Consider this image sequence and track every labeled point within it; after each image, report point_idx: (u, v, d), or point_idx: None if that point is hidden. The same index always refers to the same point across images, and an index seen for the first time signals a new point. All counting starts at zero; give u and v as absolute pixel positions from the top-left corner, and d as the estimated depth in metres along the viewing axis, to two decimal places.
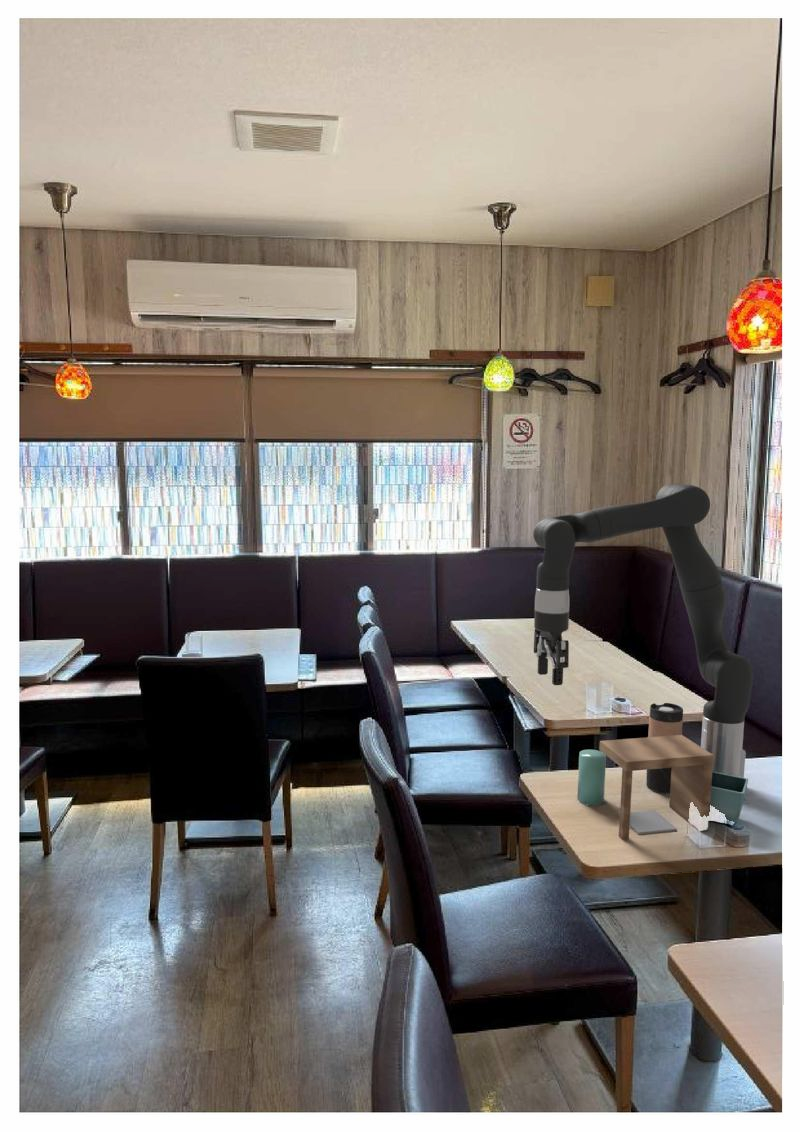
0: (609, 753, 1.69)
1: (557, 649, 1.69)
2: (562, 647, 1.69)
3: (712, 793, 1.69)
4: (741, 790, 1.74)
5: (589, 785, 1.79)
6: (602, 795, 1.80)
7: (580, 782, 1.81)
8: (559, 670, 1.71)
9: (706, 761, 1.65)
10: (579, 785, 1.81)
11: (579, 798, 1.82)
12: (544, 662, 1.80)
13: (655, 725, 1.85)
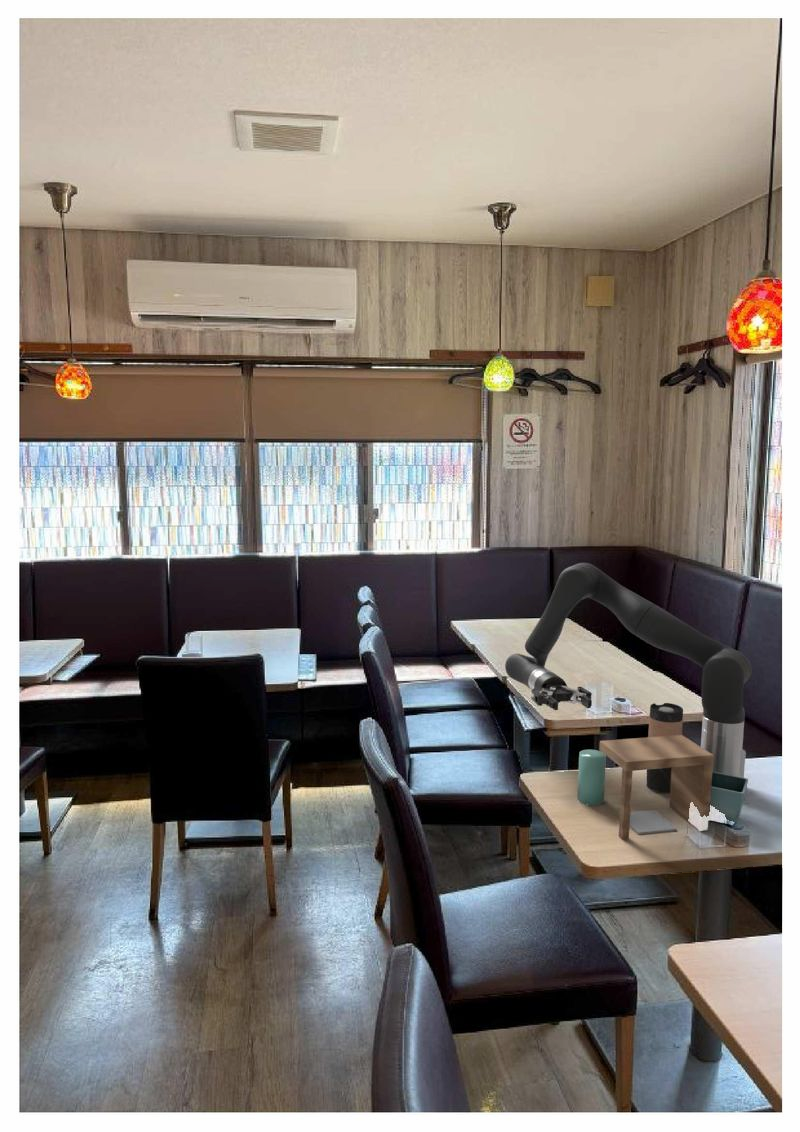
0: (609, 753, 1.69)
1: None
2: (532, 696, 1.98)
3: (712, 793, 1.69)
4: (741, 790, 1.74)
5: (589, 785, 1.79)
6: (602, 795, 1.80)
7: (580, 782, 1.81)
8: (547, 702, 1.93)
9: (706, 761, 1.65)
10: (579, 785, 1.81)
11: (579, 798, 1.82)
12: (583, 699, 1.94)
13: (655, 725, 1.85)
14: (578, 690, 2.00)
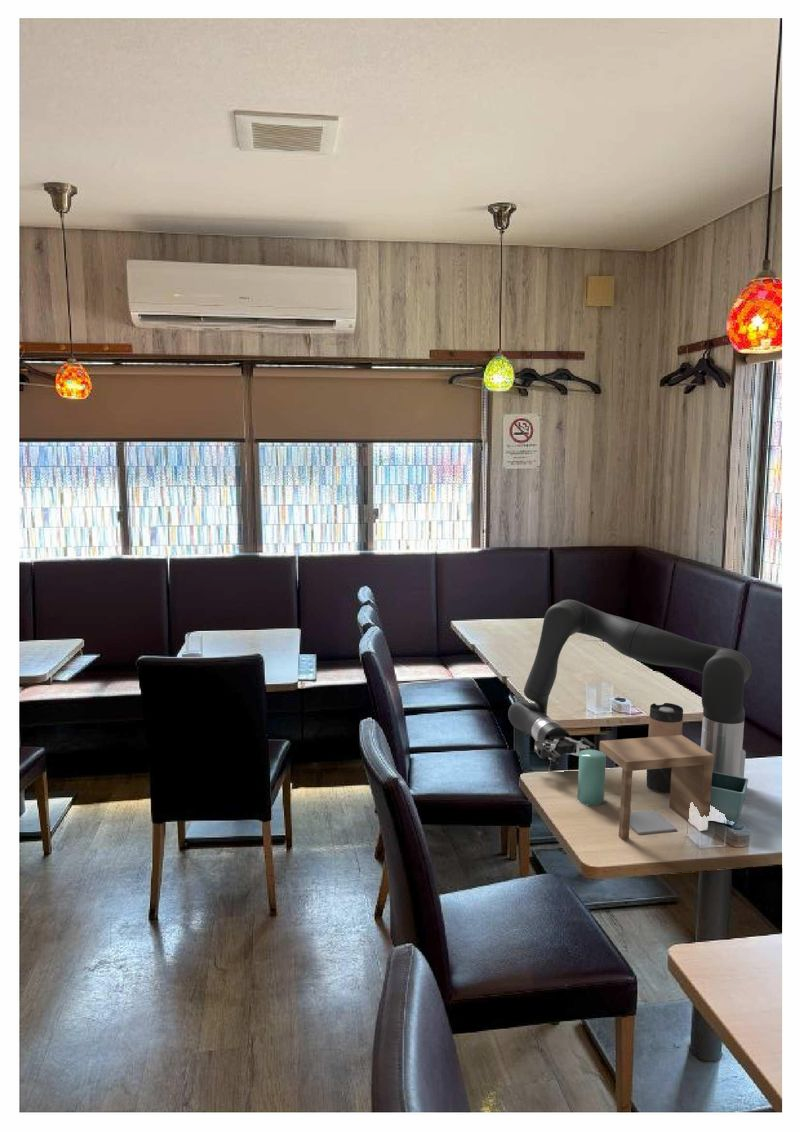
0: (609, 753, 1.69)
1: None
2: (535, 748, 1.97)
3: (712, 793, 1.69)
4: (741, 790, 1.74)
5: (589, 785, 1.79)
6: (602, 795, 1.80)
7: (580, 782, 1.81)
8: (550, 755, 1.92)
9: (706, 761, 1.65)
10: (579, 785, 1.81)
11: (579, 798, 1.82)
12: None
13: (655, 725, 1.85)
14: (581, 741, 1.99)
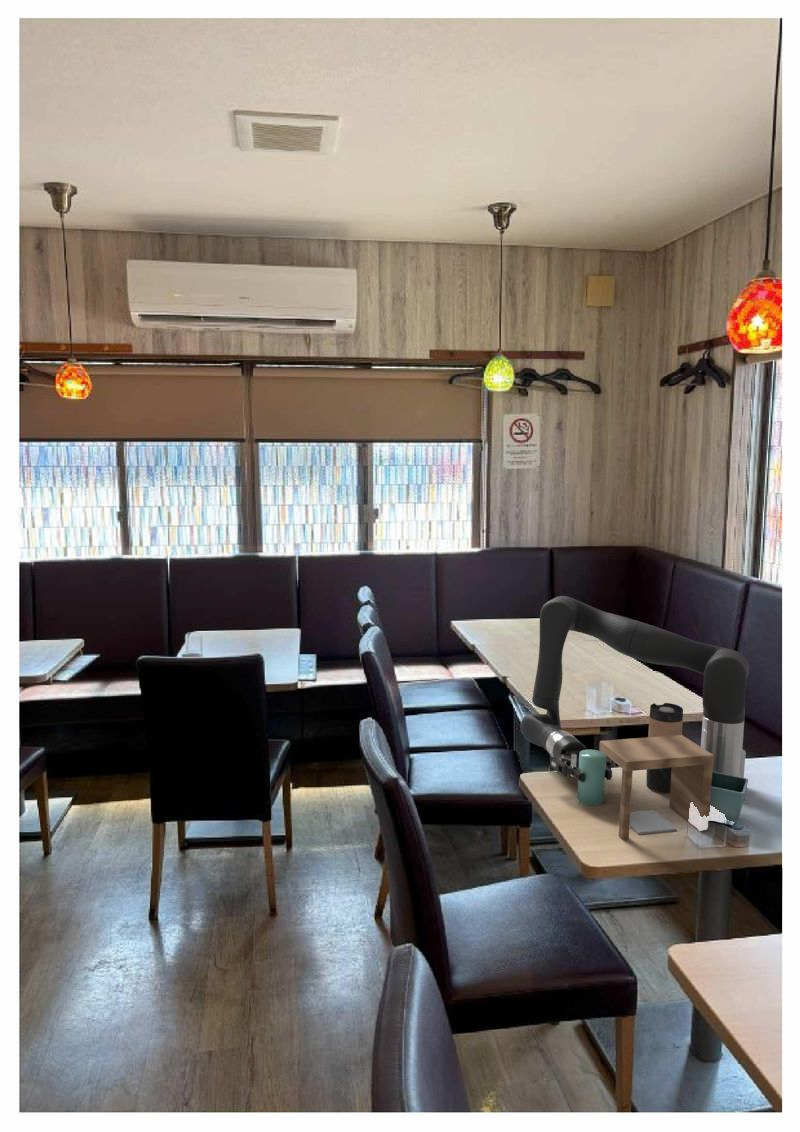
0: (609, 753, 1.69)
1: None
2: (553, 765, 1.87)
3: (712, 793, 1.69)
4: (741, 790, 1.74)
5: (589, 785, 1.79)
6: (602, 795, 1.80)
7: (580, 782, 1.81)
8: (572, 772, 1.82)
9: (706, 761, 1.65)
10: (579, 784, 1.81)
11: (579, 798, 1.82)
12: None
13: (655, 725, 1.85)
14: None
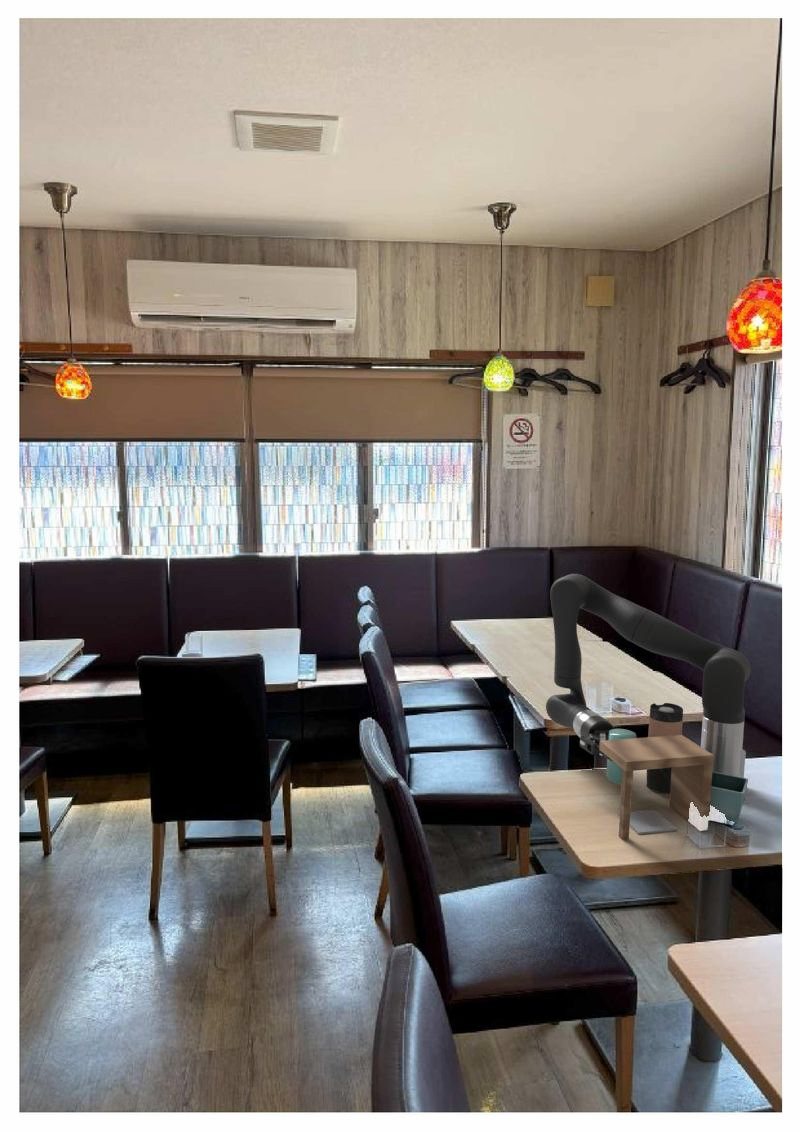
0: (609, 753, 1.69)
1: None
2: (582, 744, 1.87)
3: (712, 793, 1.69)
4: (741, 790, 1.74)
5: None
6: None
7: (609, 760, 1.81)
8: (601, 751, 1.82)
9: (706, 761, 1.65)
10: (609, 763, 1.81)
11: (608, 777, 1.82)
12: None
13: (655, 725, 1.85)
14: None
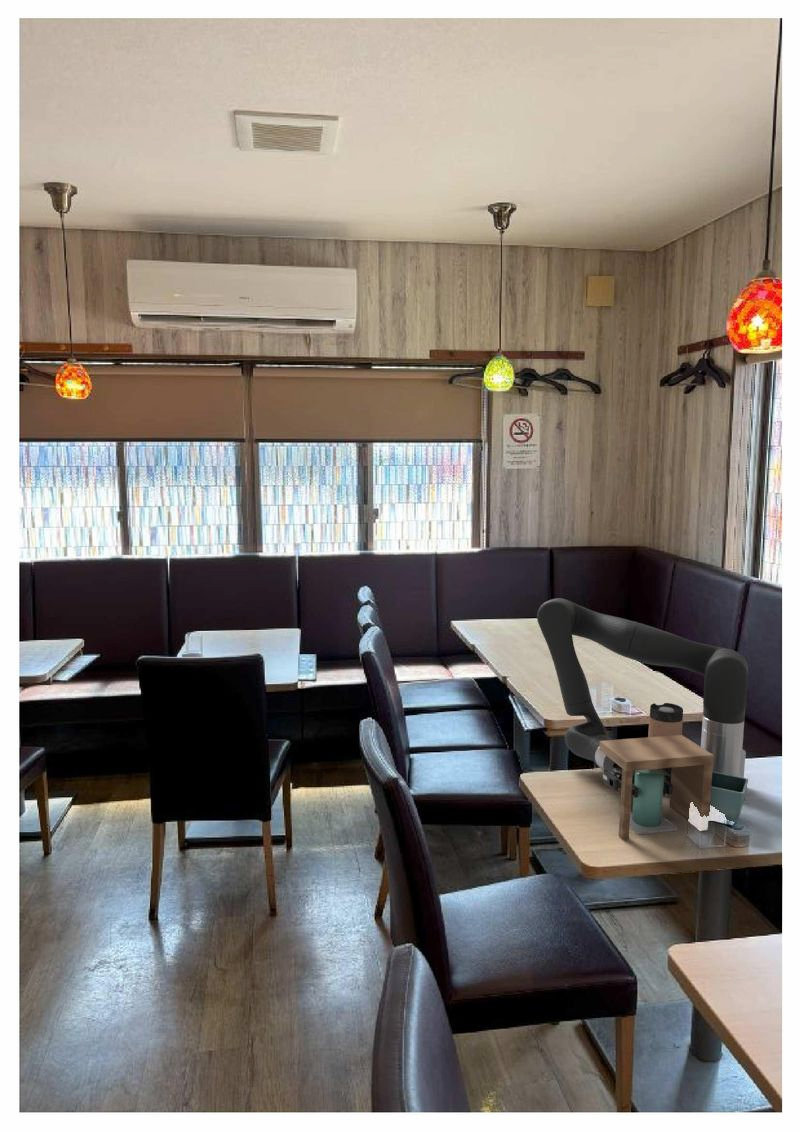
0: (609, 753, 1.69)
1: None
2: (604, 778, 1.76)
3: (712, 793, 1.69)
4: (741, 790, 1.74)
5: (646, 805, 1.68)
6: (659, 816, 1.69)
7: (635, 802, 1.70)
8: None
9: (706, 761, 1.65)
10: (635, 805, 1.70)
11: (635, 819, 1.71)
12: None
13: (655, 725, 1.85)
14: None
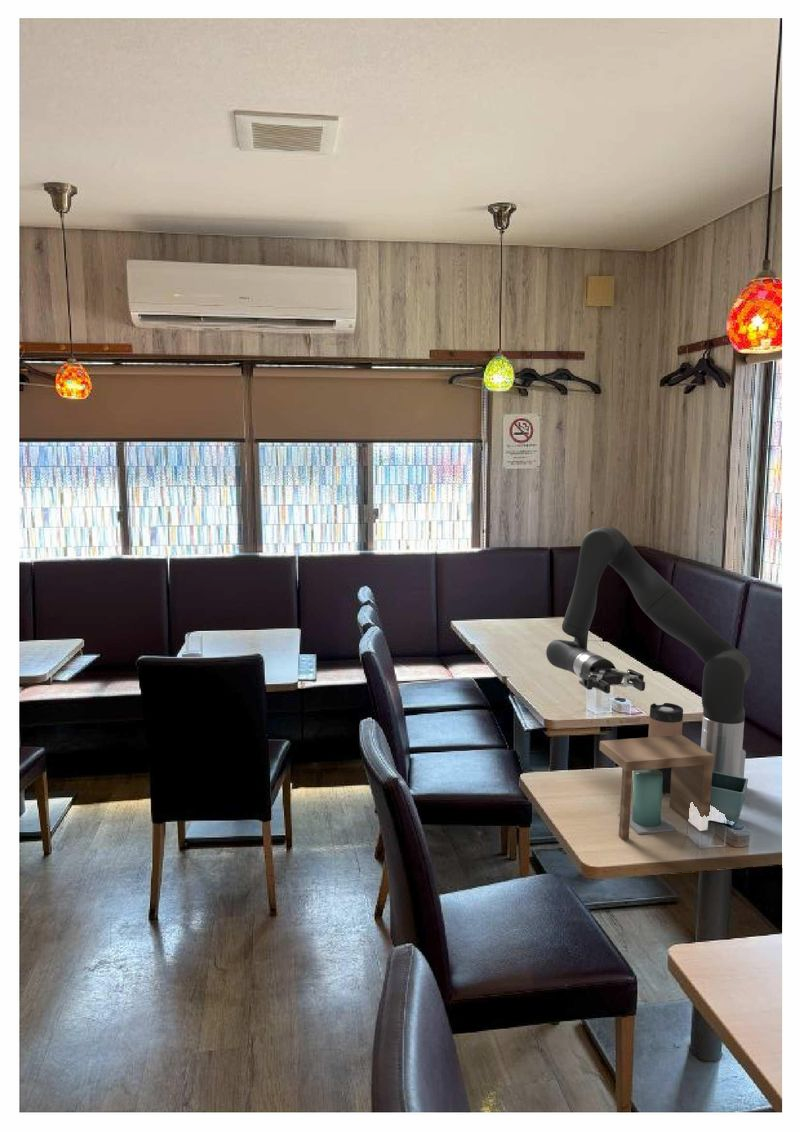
0: (609, 753, 1.69)
1: None
2: (580, 680, 1.87)
3: (712, 793, 1.69)
4: (741, 790, 1.74)
5: (645, 805, 1.68)
6: (659, 816, 1.69)
7: (635, 802, 1.70)
8: (597, 685, 1.82)
9: (706, 761, 1.65)
10: (634, 805, 1.70)
11: (634, 819, 1.71)
12: (635, 682, 1.83)
13: (655, 725, 1.85)
14: (628, 673, 1.89)
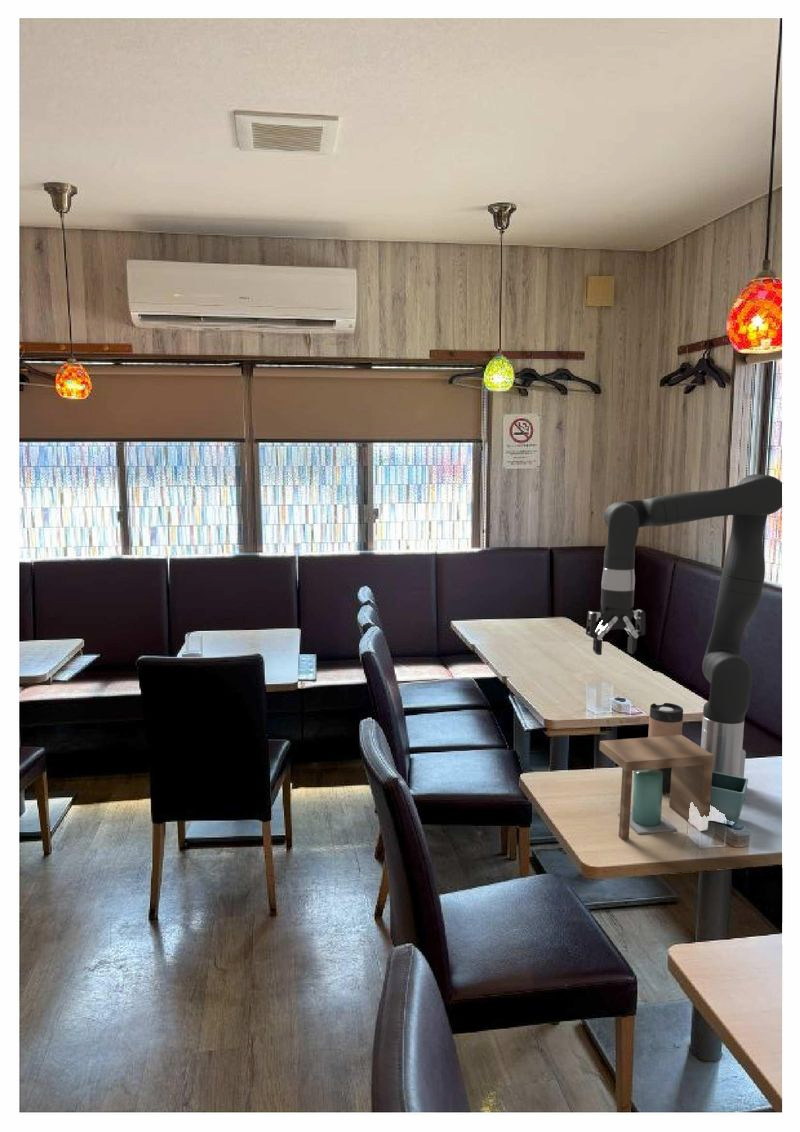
0: (609, 753, 1.69)
1: None
2: (589, 617, 1.86)
3: (712, 793, 1.69)
4: (741, 790, 1.74)
5: (644, 804, 1.68)
6: (659, 815, 1.69)
7: (634, 800, 1.70)
8: (594, 640, 1.87)
9: (706, 761, 1.65)
10: (634, 803, 1.71)
11: (634, 818, 1.71)
12: (630, 641, 1.89)
13: (655, 725, 1.85)
14: (638, 618, 1.88)
